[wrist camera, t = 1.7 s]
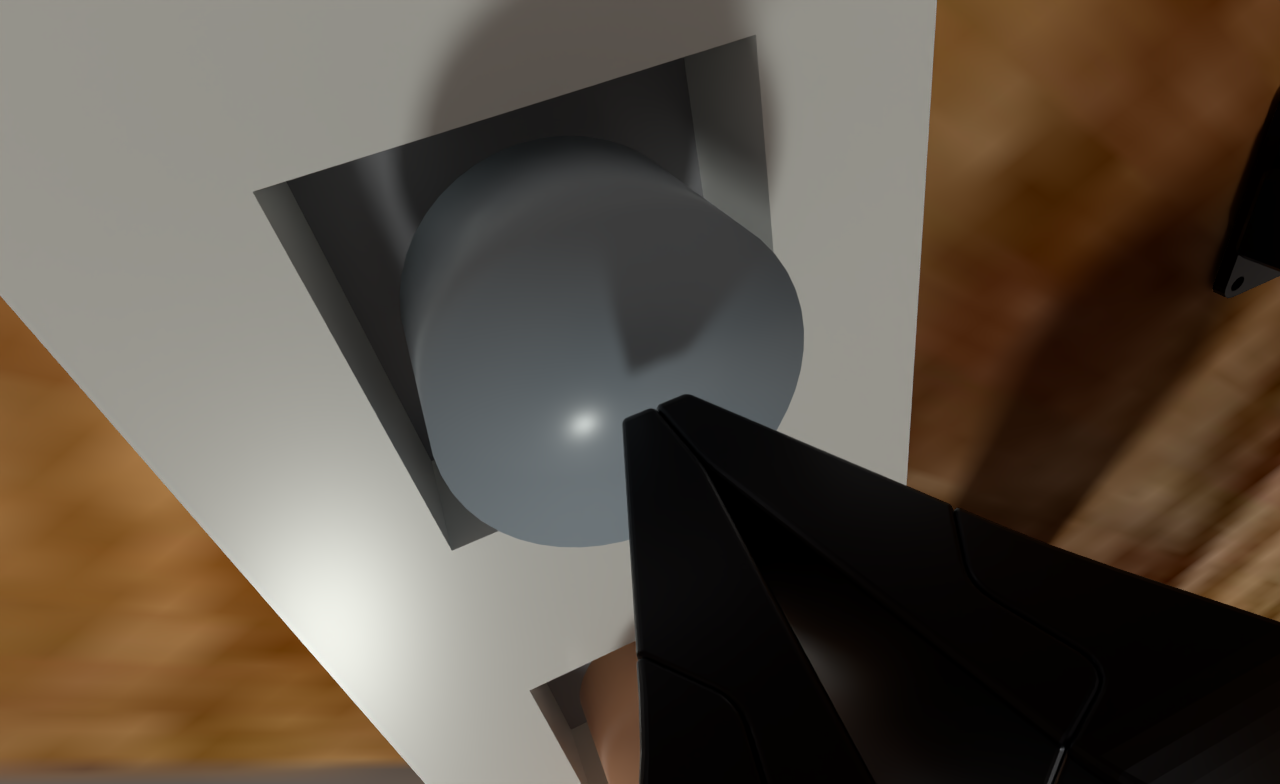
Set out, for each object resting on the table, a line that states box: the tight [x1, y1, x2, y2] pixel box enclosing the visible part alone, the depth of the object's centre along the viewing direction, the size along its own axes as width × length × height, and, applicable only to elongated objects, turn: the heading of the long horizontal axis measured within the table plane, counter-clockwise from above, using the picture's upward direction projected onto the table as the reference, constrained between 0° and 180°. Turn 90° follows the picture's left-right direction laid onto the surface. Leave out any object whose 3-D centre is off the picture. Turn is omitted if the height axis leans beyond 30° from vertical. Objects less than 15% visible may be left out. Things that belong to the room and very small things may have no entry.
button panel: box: [0, 0, 937, 784], centre depth 15 cm, size 12×22×4 cm, turn 10°
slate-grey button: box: [400, 136, 804, 547], centre depth 10 cm, size 5×5×3 cm
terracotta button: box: [580, 641, 640, 784], centre depth 17 cm, size 5×5×3 cm
